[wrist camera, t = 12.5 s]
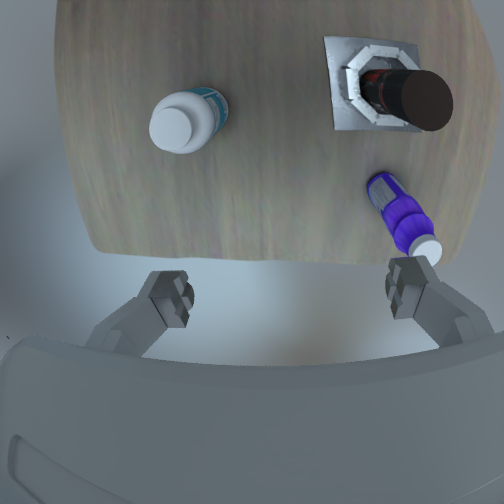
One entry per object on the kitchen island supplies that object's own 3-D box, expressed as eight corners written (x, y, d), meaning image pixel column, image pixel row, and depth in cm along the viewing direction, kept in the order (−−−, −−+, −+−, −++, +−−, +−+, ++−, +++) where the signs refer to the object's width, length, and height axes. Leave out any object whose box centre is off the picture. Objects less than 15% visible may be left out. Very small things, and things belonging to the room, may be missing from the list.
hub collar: (323, 37, 26) (329, 31, 22) (415, 45, 24) (432, 43, 19) (334, 129, 34) (341, 137, 30) (419, 131, 32) (436, 140, 28)
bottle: (358, 183, 39) (394, 250, 25) (386, 163, 36) (437, 220, 22) (381, 215, 41) (417, 287, 28) (407, 196, 39) (455, 262, 25)
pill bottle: (171, 118, 36) (126, 141, 25) (197, 77, 32) (156, 81, 21) (211, 143, 38) (181, 176, 27) (240, 104, 34) (219, 118, 23)
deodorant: (401, 80, 27) (459, 90, 15) (389, 114, 31) (441, 141, 19) (364, 62, 27) (411, 58, 15) (352, 98, 31) (392, 114, 19)
